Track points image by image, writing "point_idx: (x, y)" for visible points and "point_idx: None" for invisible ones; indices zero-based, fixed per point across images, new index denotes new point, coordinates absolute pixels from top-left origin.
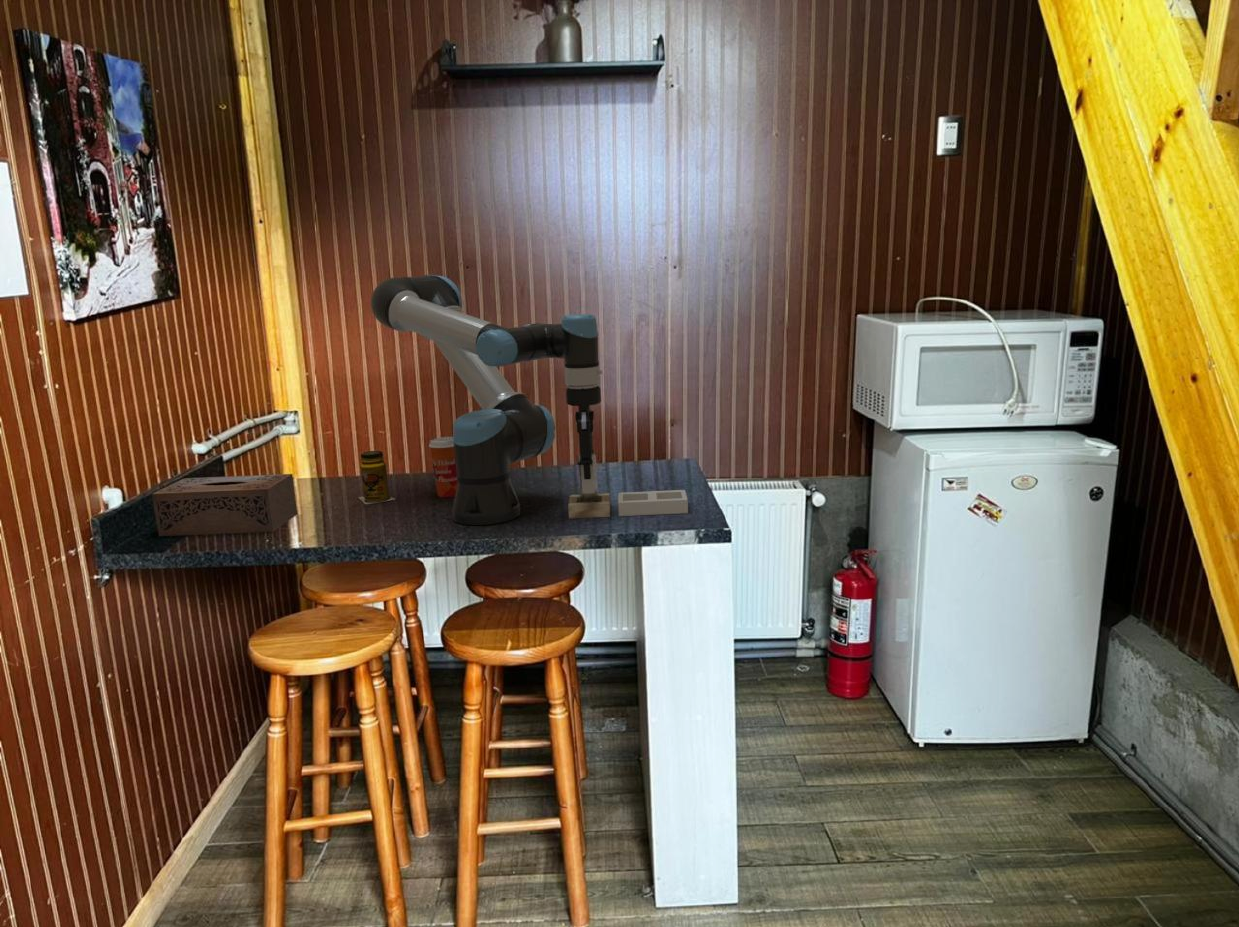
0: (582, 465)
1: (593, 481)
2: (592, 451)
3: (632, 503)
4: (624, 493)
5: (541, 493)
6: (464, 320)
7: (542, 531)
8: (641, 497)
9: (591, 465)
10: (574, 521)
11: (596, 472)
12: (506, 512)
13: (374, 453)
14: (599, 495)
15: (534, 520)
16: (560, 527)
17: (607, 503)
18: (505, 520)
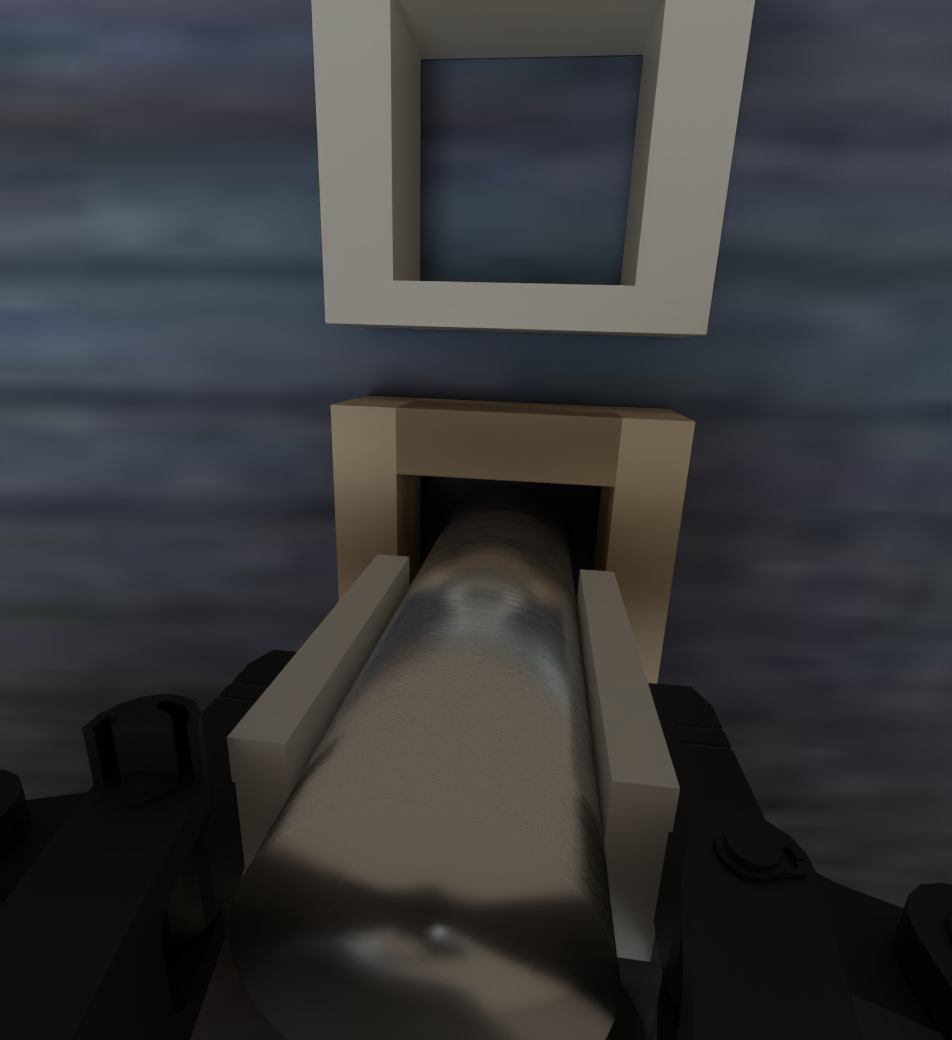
0: (654, 925)
1: (630, 631)
2: (152, 880)
3: (727, 182)
4: (360, 261)
5: (40, 793)
6: None
7: (878, 832)
8: (400, 86)
9: (673, 794)
10: (713, 651)
11: (505, 625)
12: (613, 1033)
13: None
14: (395, 496)
15: None
16: (828, 736)
17: (689, 437)
18: None
